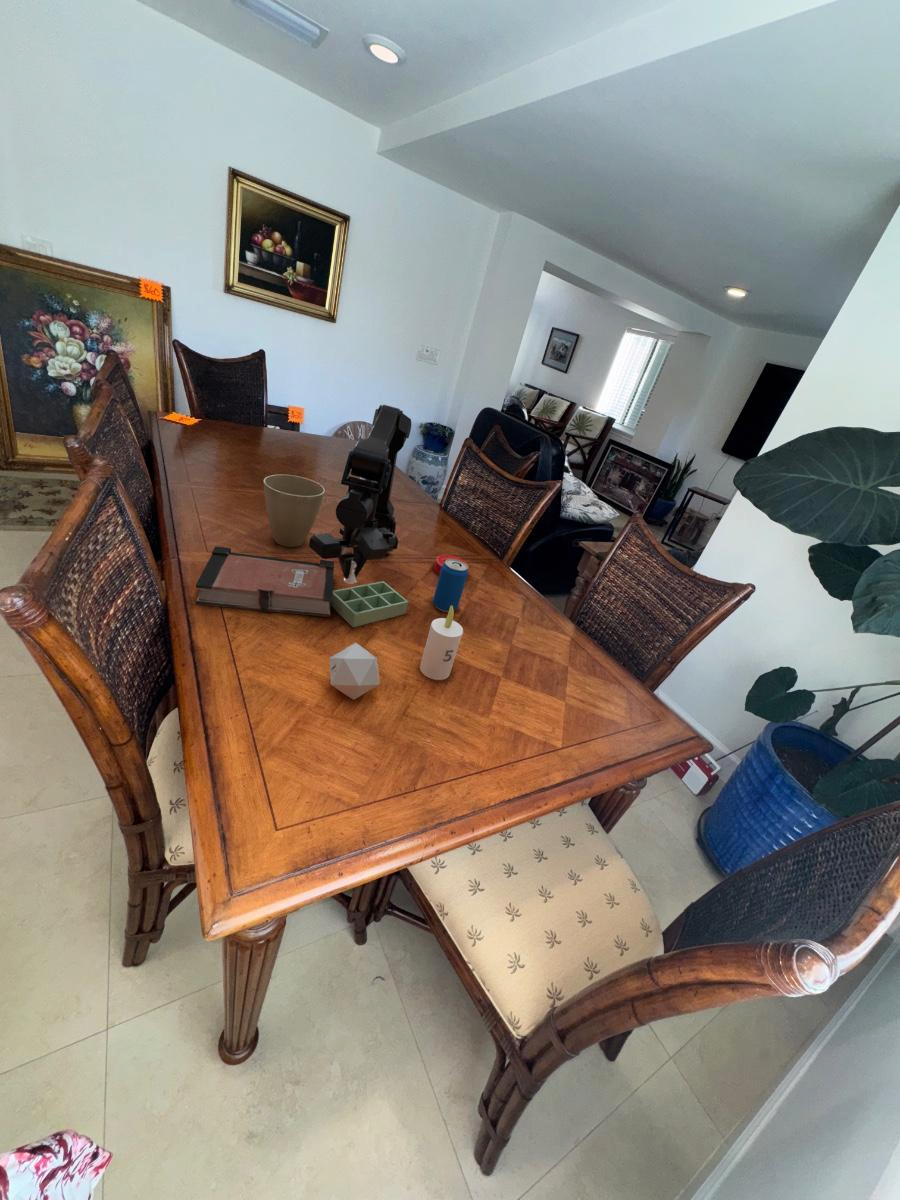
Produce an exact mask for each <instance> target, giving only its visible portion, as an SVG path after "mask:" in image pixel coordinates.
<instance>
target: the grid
mask: <svg viewBox="0 0 900 1200" xmlns="http://www.w3.org/2000/svg"><path fill="white" fill-rule="evenodd" d="M408 605H409V601H408V600H407V599H406V598H405V597H404V596H402V595H401V594H400V593H399V592H397V591H396V590H395V589H393V587H391V586H390V585H389V584H388V583H386V582H385V581H384V580H383V581H377V582H372V583H366V584H361V585H357V586H352V587H346V588H345V587H344V588H340V589H336V590H335V589H334V590H333V594H332V602H331V608H332V609H334V611H335V612H337V614H338V615H339V616H341V618H342V619H343V620H345V621H346V622H347V623H348V624H349V626H351V628H356V627H361V626H365V625H368V624H372V623H376V622H379V621H384V620H386V619H392V618H396V617H399V616H404V615H407V610H408Z"/></svg>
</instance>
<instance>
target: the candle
mask: <svg viewBox="0 0 900 1200" xmlns="http://www.w3.org/2000/svg"><path fill="white" fill-rule="evenodd" d="M454 614H455V611H454V610H453V606H452V605H451V606H450V609H449V612H447V615H446V617H439V618H435V619H433V620H432V621H431V624H430V627H429V631H428V634H427V638H426V643H425V646H424V650H423V652H422V657H421V659H420V664H419V669H420V672H421V674H423V675H424V676H425V677H427V678H429V679H431V680H434V681H435V680H436V681H444V680H446V679H448V678H449V677H450V675H451V672H452V668H453V666H454V663H455V659H456V656H457V653H458V649H459V646H460V643H461V640H462V637H463V635H464V629H463V626H462V625H461V624H460V623H459V622H457V621H455V620H454Z"/></svg>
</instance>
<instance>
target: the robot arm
mask: <svg viewBox="0 0 900 1200" xmlns="http://www.w3.org/2000/svg"><path fill="white" fill-rule="evenodd" d="M372 419H373V420H372V424H371V426H372V427H371V429H370V432H369V434H368V435H367V437H366V438H363V439H361V440H358V441H357V442H356V444H355V446H354V447H353V449H350V450H349V452H348V455H347V459H346V463H345V466H344V470H343V473H342V477H341V481H340V485H343V486H347V487H348V489H347V493H346V494H345V495H344V496H343V497H342V499H341V500H340V501H339V502H338V503H337V505H336V507H335V516H336V519H337V520H338V522H339V523H340V524H341V525H342V526H343V528H339V534H340V535H341V538H335V537H334V536H332V534H330V533H328V532H327V533H318V534H313V535H311V536H310V539H309V542H308V543H309V544H308V547H309V548H310V549H311V550H312V551H313V552H314V553H315V554H316V555H318V556H319V557H320V558H321V559H323V560H329V559H336V558H337V559H338V563H339V565H340V568H341V569H340V570H341V571H342V576H343V578H346V579H348V577H349V574H350V568H351V562H352V561H355V562H356V564H357V566H356V568H355V571H354V574H355V577H356V578H357V577H358V575H359V574H360V572H361V570H362V569H363V568H364V566H365V564H366V563H367V562H368V561H373V560H377V559H380V560H381V559H384V558H385V556H388V555H389V554H390V552H393V551H394V550H397V549H398V545H399V539H398V536H397V535H396V529H397V528H396V527H397V522H396V516H394V513H395V508H394V504H393V503H392V501H391V495H392V490H393V489H392V488H393V484H394V483H393V482H394V476H395V470H396V464H397V458H398V453H399V452H400V451H401V450H402V449H403V448H404V446H405V443H406V441H407V439H409V438H410V434H411V431H412V419H411V418H410V417H409V416H408V415H406V414H405V413H404V410H401V409H400V408H399V407H398V408H397V407H395V406H390V405H387V404H380V405H379V406H378V408H376V409H375V411H374V414H373V418H372Z"/></svg>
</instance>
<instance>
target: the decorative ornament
mask: <svg viewBox="0 0 900 1200" xmlns="http://www.w3.org/2000/svg"><path fill="white" fill-rule="evenodd" d="M447 559H456V560H460V561H462V562H464V563H465V564H466V565H467V566H468V568H467V570H468V571H469V568H470V566H469V564H468V562H467V561H465V559H462V558H461V557H457V556H454V555H449V554H442V555H439V556H437V557H436V558H435V563H434V565H433V570H434V572H435V573H436V575H438V576H439V575H440V571H441V567H442V565H443V564H444V563H445V561H446V560H447Z"/></svg>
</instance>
